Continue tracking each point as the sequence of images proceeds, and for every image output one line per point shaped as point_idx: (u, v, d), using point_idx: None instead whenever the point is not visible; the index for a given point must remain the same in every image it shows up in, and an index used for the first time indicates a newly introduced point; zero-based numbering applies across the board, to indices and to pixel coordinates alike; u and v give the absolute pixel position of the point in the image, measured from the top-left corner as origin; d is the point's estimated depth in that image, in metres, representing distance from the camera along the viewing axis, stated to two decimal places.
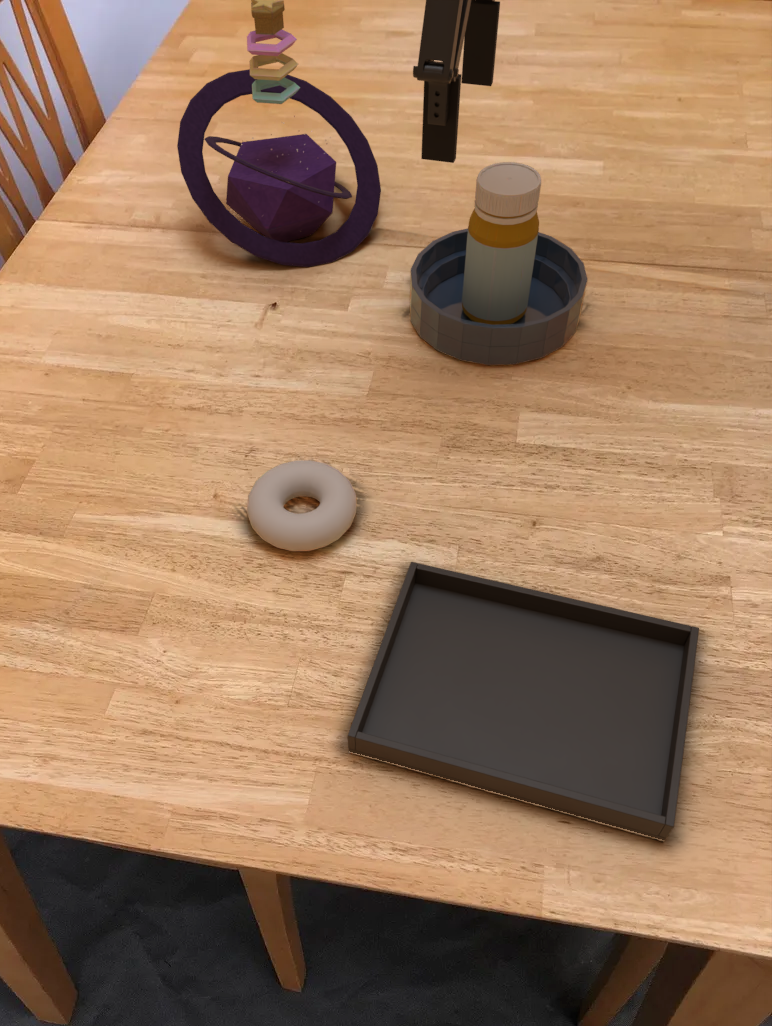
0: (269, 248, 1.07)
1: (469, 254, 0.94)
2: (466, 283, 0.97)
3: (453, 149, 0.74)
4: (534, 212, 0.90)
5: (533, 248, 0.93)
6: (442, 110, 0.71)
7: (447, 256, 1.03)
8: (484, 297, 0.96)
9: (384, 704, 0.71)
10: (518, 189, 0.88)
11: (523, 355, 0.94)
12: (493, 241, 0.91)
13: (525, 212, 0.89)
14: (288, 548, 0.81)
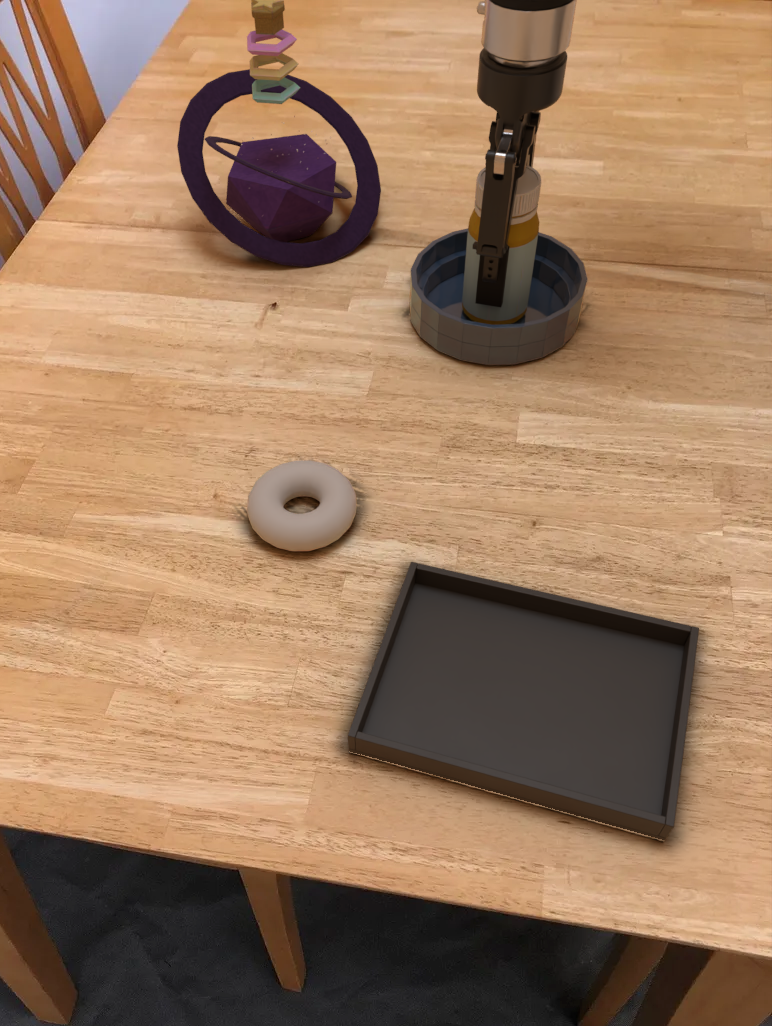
0: (269, 248, 1.07)
1: (469, 254, 0.94)
2: (466, 283, 0.97)
3: (501, 298, 0.94)
4: (534, 212, 0.90)
5: (533, 248, 0.93)
6: (494, 273, 0.91)
7: (447, 256, 1.03)
8: None
9: (384, 704, 0.71)
10: (518, 189, 0.88)
11: (523, 355, 0.94)
12: None
13: (525, 212, 0.89)
14: (288, 548, 0.81)
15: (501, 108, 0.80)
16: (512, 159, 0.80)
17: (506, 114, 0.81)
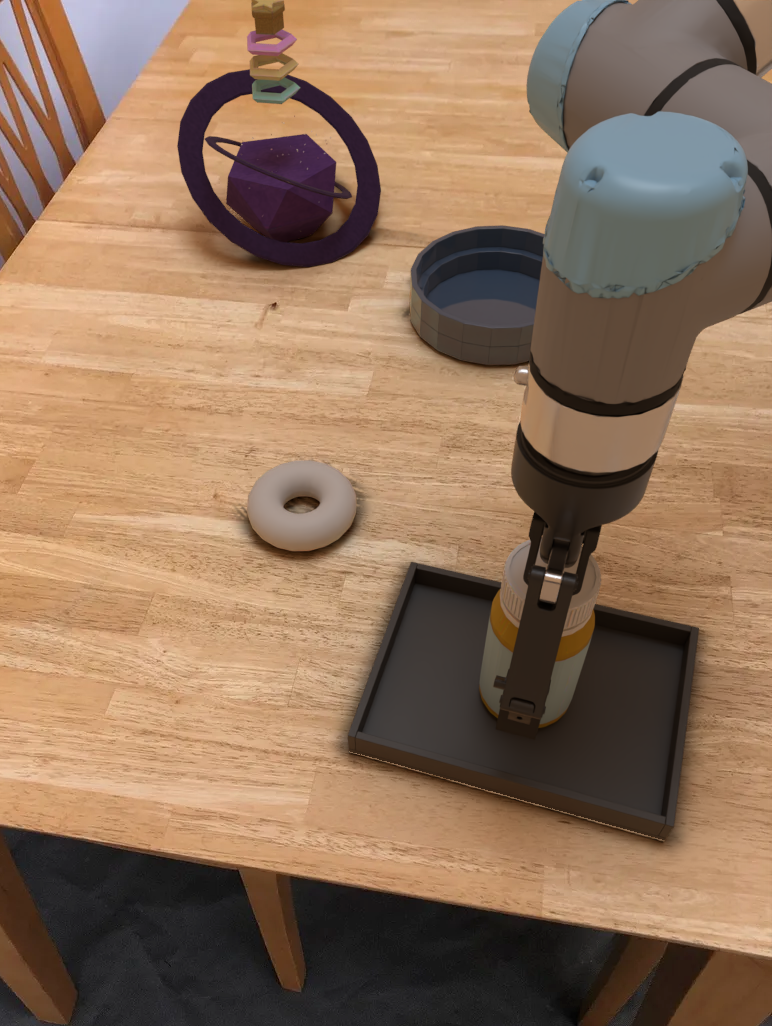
0: (269, 248, 1.07)
1: (492, 650, 0.65)
2: (486, 675, 0.67)
3: (535, 731, 0.61)
4: (589, 616, 0.60)
5: (586, 650, 0.63)
6: (527, 716, 0.58)
7: (447, 256, 1.03)
8: None
9: (384, 704, 0.71)
10: None
11: (523, 355, 0.94)
12: None
13: (577, 623, 0.59)
14: (288, 548, 0.81)
15: (551, 519, 0.50)
16: (573, 584, 0.50)
17: (558, 527, 0.51)
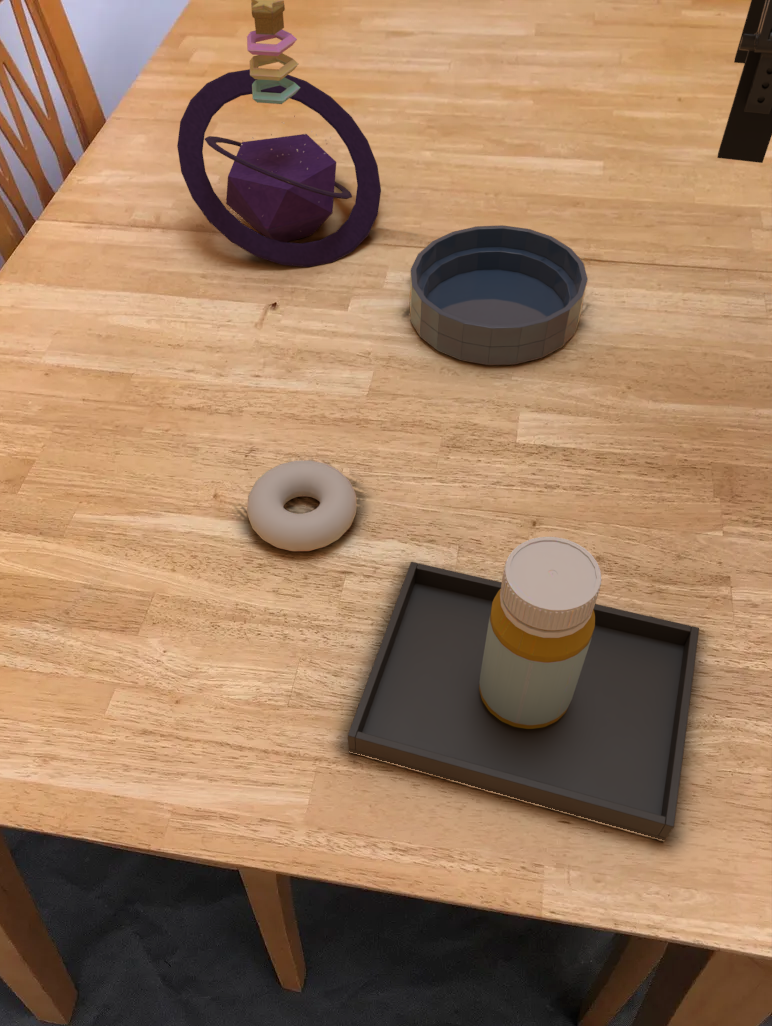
0: (269, 248, 1.07)
1: (492, 650, 0.65)
2: (486, 675, 0.67)
3: (766, 145, 0.57)
4: (590, 616, 0.60)
5: (586, 650, 0.63)
6: (771, 93, 0.54)
7: (447, 256, 1.03)
8: (512, 702, 0.66)
9: (384, 704, 0.71)
10: (568, 596, 0.58)
11: (523, 355, 0.94)
12: (528, 653, 0.61)
13: (577, 623, 0.59)
14: (288, 548, 0.81)
15: None
16: None
17: None
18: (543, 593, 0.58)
